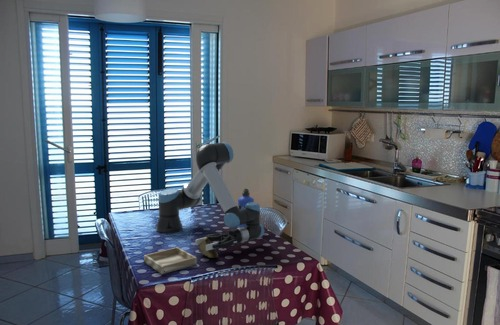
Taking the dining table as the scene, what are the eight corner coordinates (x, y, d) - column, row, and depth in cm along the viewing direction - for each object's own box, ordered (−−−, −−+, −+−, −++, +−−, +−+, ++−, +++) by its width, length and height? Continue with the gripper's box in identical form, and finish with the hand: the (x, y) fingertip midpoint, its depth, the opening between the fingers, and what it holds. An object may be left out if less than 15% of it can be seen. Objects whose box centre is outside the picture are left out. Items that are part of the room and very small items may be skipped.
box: (144, 262, 200) (143, 255, 200) (177, 253, 211) (177, 246, 211) (161, 274, 186) (161, 266, 186) (196, 264, 198) (196, 257, 197)
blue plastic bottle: (252, 233, 244) (252, 191, 240) (236, 232, 246) (236, 190, 242) (255, 228, 253) (255, 187, 249) (239, 227, 255) (239, 187, 251)
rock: (192, 247, 210) (196, 252, 200) (202, 233, 211) (206, 236, 201) (210, 258, 212) (214, 263, 203) (219, 244, 214) (224, 248, 204)
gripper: (251, 248, 209) (213, 259, 195) (226, 237, 226) (189, 246, 212) (251, 234, 208) (213, 243, 194) (226, 223, 225) (189, 232, 210)
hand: (201, 245), depth 203 cm, fingers closed on rock, 8 cm apart
